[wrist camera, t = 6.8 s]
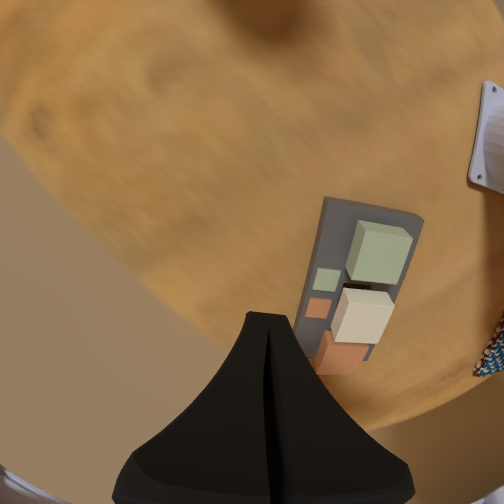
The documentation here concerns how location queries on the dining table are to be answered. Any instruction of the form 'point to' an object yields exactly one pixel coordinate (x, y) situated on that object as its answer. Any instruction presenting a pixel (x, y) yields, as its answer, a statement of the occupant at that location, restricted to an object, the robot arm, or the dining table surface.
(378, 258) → the key sage
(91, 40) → the dining table surface
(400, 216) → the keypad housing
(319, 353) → the key rust
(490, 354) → the woven mat
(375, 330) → the cream cube block
